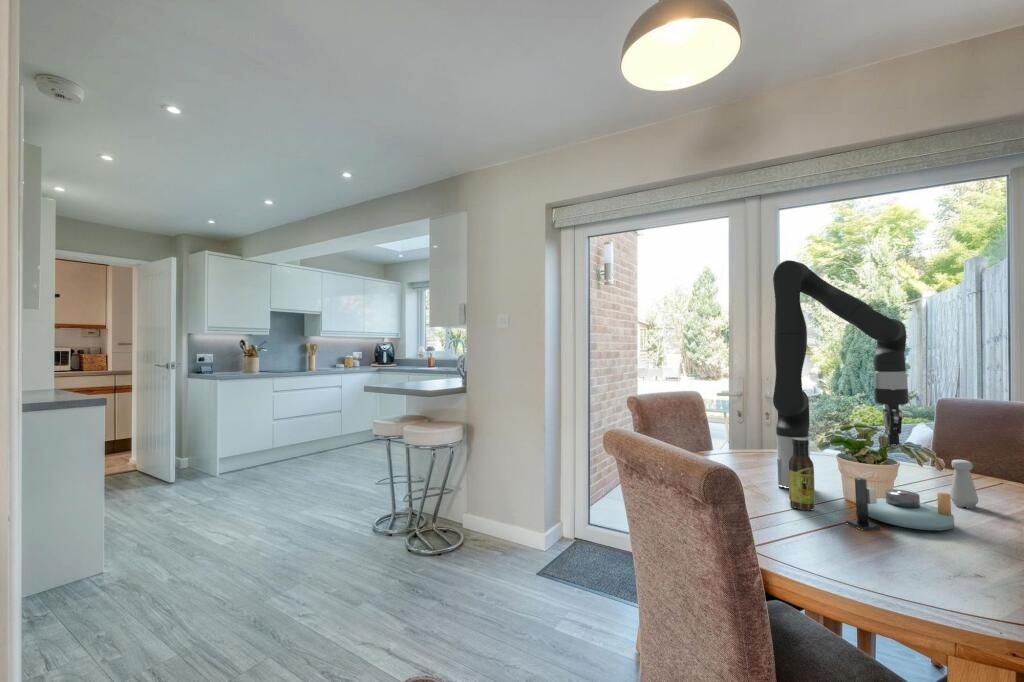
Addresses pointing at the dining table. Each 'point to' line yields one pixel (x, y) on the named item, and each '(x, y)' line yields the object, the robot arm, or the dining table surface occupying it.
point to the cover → (902, 498)
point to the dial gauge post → (863, 505)
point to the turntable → (915, 514)
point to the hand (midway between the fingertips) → (893, 446)
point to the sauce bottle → (801, 476)
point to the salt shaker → (963, 485)
